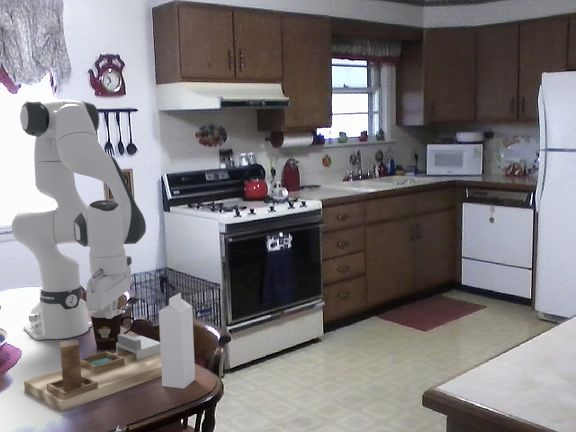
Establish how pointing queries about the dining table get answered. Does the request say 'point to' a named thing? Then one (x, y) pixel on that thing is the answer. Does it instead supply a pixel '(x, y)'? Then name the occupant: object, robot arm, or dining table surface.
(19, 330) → the dining table surface
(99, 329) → the coffee mug
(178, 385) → the milk
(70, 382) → the block
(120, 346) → the cover
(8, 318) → the dining table surface
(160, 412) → the dining table surface
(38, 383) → the board
